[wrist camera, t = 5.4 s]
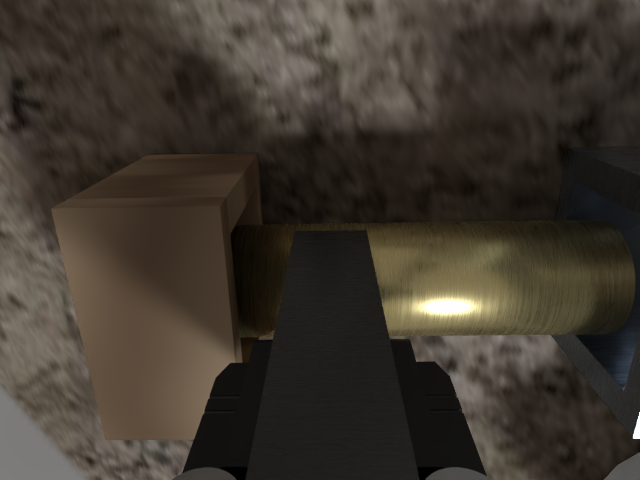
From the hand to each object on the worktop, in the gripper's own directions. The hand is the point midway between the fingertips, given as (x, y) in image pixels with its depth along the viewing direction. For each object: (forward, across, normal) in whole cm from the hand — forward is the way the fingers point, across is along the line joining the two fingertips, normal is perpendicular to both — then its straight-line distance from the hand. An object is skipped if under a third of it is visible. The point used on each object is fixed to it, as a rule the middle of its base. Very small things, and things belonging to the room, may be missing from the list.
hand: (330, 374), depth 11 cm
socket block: (+8, +4, 0) cm, 9 cm away
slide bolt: (+7, -2, 0) cm, 7 cm away
